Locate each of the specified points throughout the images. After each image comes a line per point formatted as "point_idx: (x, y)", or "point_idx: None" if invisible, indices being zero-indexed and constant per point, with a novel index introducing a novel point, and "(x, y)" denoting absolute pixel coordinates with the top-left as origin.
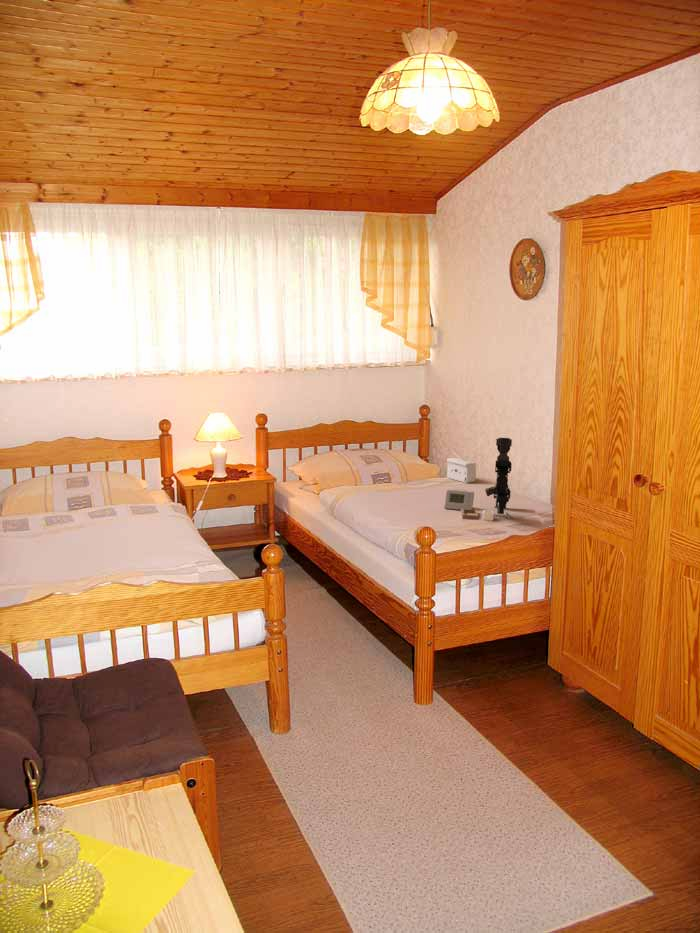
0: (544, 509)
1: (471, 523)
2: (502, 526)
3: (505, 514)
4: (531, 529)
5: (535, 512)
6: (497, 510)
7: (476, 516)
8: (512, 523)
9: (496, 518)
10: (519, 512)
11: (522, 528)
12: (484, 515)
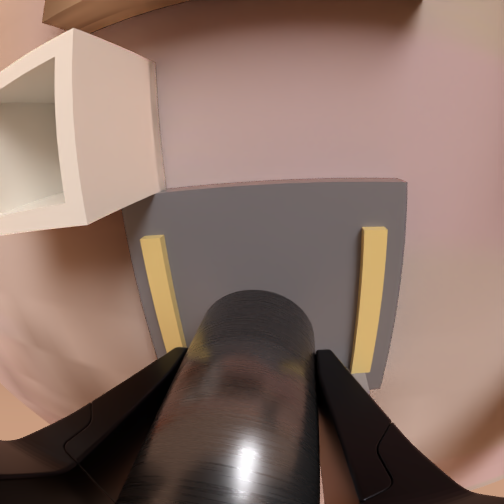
0: (493, 479)
1: (16, 22)
2: (7, 284)
3: (361, 372)
4: (52, 422)
5: (459, 475)
6: (221, 321)
7: (49, 7)
8: (112, 375)
9: (146, 253)
10: (489, 422)
11: (40, 392)
12: (2, 108)
